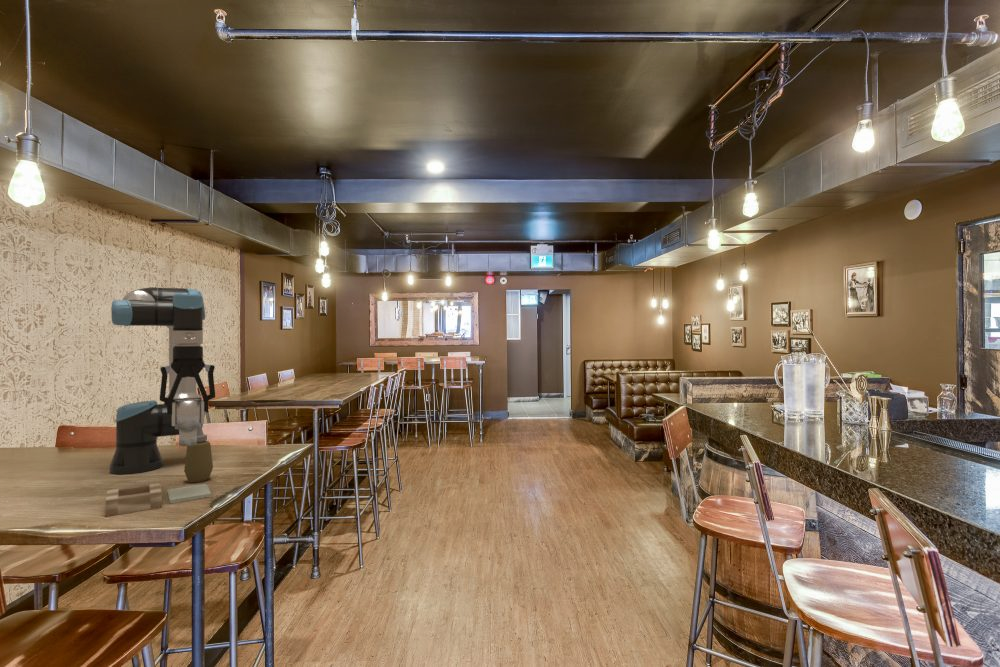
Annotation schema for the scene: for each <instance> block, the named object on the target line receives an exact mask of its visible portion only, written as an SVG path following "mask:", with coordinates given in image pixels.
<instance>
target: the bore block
mask: <svg viewBox="0 0 1000 667" xmlns="http://www.w3.org/2000/svg"><path fill="white" fill-rule="evenodd" d="M160 483H161V482H160V481H159V482H158V481H157V482H151V483H145V484H138V485H133V486H131V485H130V486H125V487H118V488H110V489H107V490H106V497H105V517H111V516H118V515H122V514H129V513H137V512H141V510H142V511H147V510H153V508H154V509H159V507H160V508H162V504H163V503H162V501H163V499H162V496H163V495H162V494H163V493H162V488H161V484H160Z"/></svg>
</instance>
